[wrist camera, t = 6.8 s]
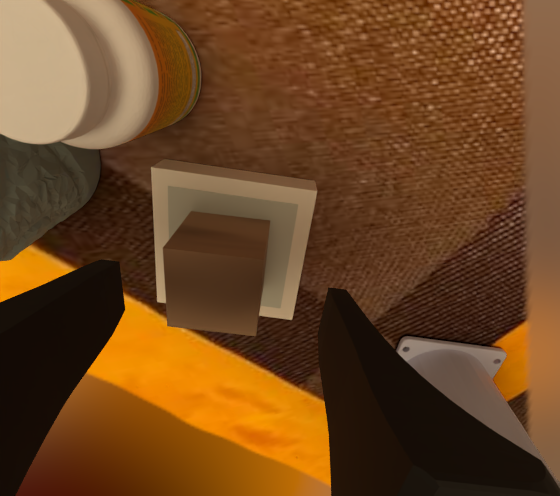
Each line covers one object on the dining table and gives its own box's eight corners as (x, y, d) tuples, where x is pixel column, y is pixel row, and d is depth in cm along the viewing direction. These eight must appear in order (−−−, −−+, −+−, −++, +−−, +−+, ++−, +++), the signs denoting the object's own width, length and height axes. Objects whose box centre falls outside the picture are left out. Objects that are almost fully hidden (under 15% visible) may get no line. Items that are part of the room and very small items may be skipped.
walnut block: (263, 286, 21) (255, 336, 17) (191, 277, 21) (167, 326, 17) (270, 220, 19) (263, 259, 15) (191, 211, 19) (162, 248, 15)
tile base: (292, 301, 24) (292, 321, 22) (167, 284, 24) (156, 302, 22) (315, 180, 20) (317, 191, 18) (164, 158, 19) (150, 167, 18)
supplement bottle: (191, 2, 16) (67, -85, 7) (212, 121, 18) (139, 161, 10) (84, 15, 16) (-151, -52, 8) (119, 130, 19) (-29, 176, 10)
